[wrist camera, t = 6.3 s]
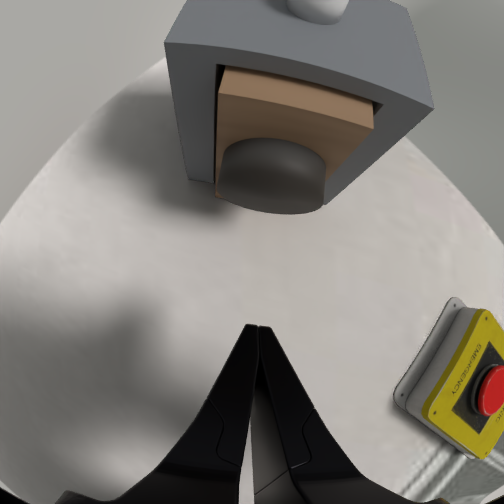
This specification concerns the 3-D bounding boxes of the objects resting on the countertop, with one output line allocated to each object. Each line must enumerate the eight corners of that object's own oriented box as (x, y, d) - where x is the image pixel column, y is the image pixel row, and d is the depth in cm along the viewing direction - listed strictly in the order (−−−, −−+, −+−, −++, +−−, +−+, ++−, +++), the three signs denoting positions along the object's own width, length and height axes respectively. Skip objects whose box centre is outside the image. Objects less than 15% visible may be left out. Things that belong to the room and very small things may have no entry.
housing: (326, 204, 19) (454, 91, 7) (187, 178, 18) (160, 13, 6) (331, 121, 20) (417, -9, 8) (209, 97, 20) (215, -62, 7)
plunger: (294, 235, 18) (374, 169, 9) (210, 221, 18) (207, 132, 8) (304, 141, 20) (365, 36, 10) (230, 126, 19) (245, 6, 9)
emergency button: (488, 288, 16) (547, 383, 16) (448, 291, 20) (516, 378, 20) (419, 413, 14) (498, 473, 14) (384, 396, 18) (469, 459, 18)
